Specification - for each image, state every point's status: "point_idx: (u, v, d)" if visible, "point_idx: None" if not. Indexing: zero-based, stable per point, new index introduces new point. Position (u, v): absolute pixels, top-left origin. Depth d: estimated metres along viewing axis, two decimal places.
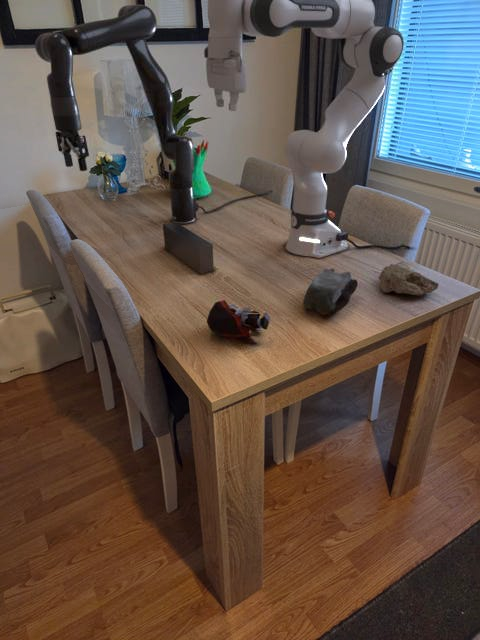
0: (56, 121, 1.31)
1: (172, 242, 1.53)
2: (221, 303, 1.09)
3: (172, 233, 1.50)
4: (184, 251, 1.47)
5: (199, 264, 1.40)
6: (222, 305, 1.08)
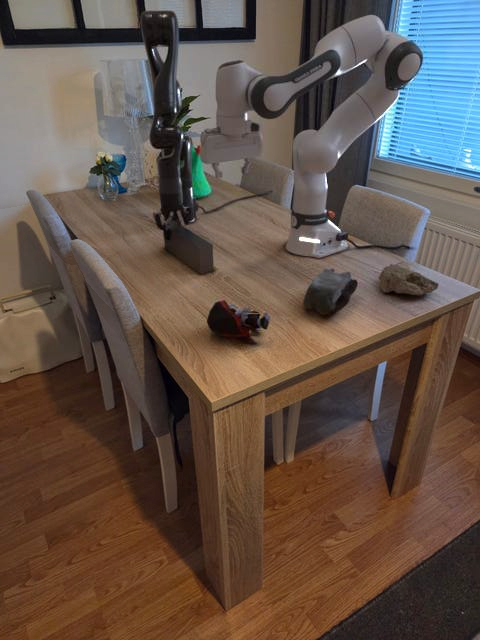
0: None
1: (172, 242, 1.53)
2: (221, 303, 1.09)
3: (172, 233, 1.50)
4: (184, 251, 1.47)
5: (199, 264, 1.40)
6: (222, 305, 1.08)
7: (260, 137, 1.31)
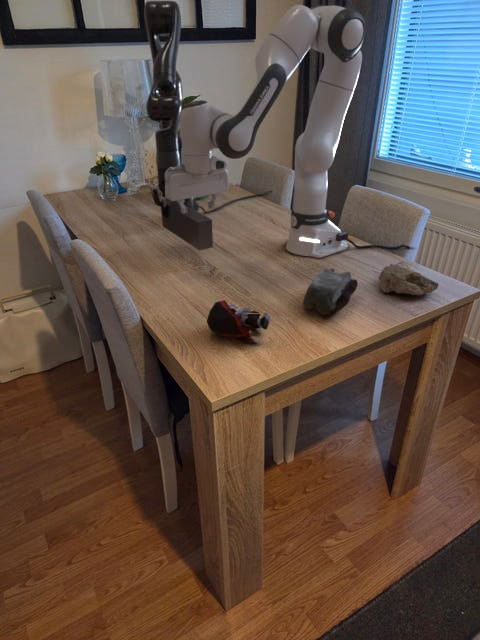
0: None
1: (170, 219, 1.49)
2: (221, 303, 1.09)
3: (170, 209, 1.46)
4: (182, 227, 1.43)
5: (198, 240, 1.36)
6: (222, 305, 1.08)
7: (226, 173, 1.32)
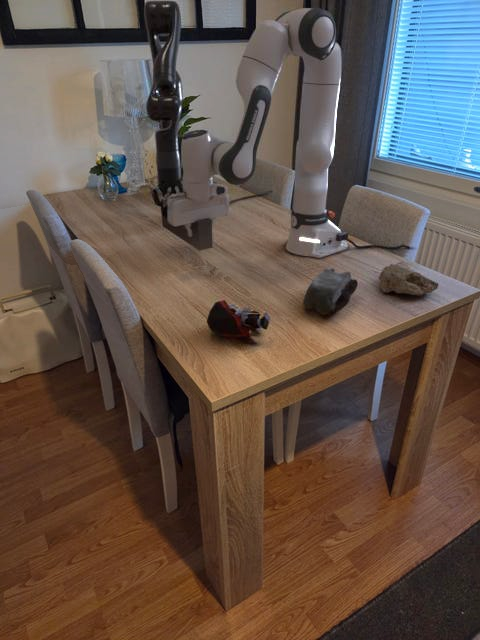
0: None
1: None
2: (221, 303, 1.09)
3: None
4: (182, 227, 1.43)
5: (198, 240, 1.36)
6: (222, 305, 1.08)
7: (226, 198, 1.36)
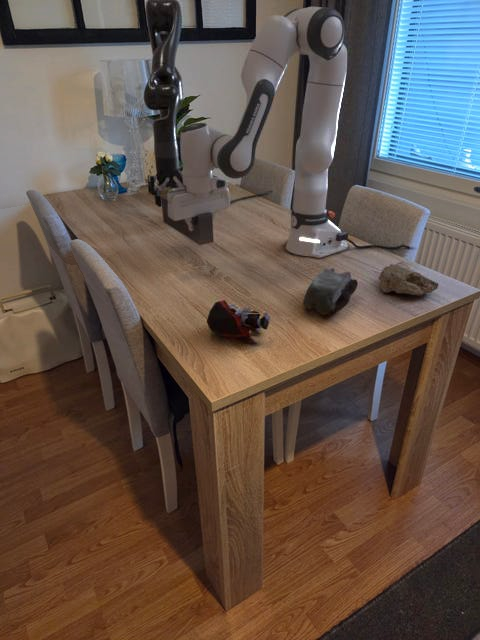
0: None
1: None
2: (221, 303, 1.09)
3: None
4: (183, 222, 1.42)
5: (198, 235, 1.35)
6: (222, 305, 1.08)
7: (227, 192, 1.35)
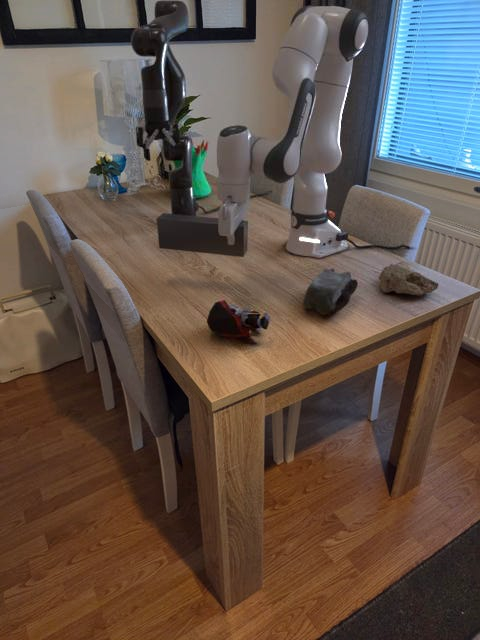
0: None
1: (179, 235, 1.28)
2: (221, 303, 1.09)
3: (181, 224, 1.26)
4: (207, 239, 1.27)
5: (242, 246, 1.25)
6: (222, 305, 1.08)
7: None
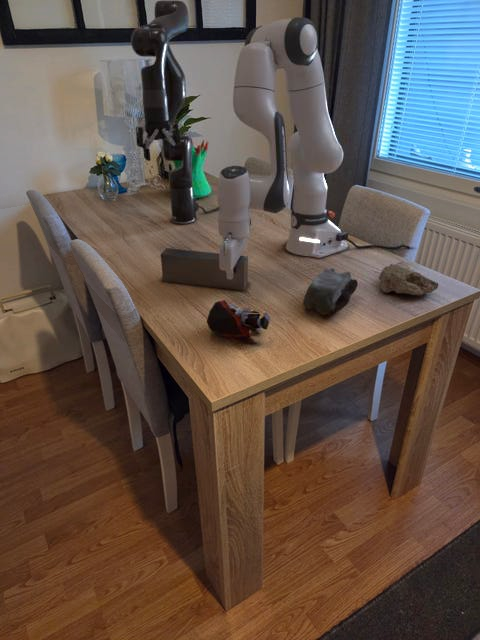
0: None
1: (182, 270, 1.34)
2: (221, 303, 1.09)
3: (184, 259, 1.32)
4: (209, 274, 1.32)
5: (242, 281, 1.31)
6: (222, 305, 1.08)
7: None
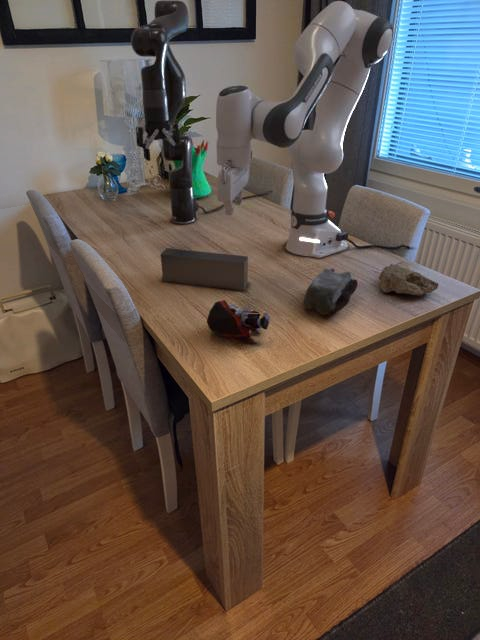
0: None
1: (182, 270, 1.34)
2: (221, 303, 1.09)
3: (184, 259, 1.32)
4: (209, 274, 1.32)
5: (242, 281, 1.31)
6: (222, 305, 1.08)
7: (249, 164, 1.24)
